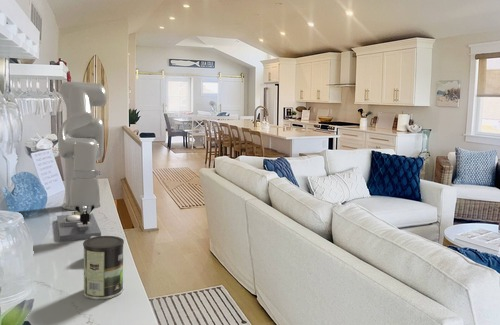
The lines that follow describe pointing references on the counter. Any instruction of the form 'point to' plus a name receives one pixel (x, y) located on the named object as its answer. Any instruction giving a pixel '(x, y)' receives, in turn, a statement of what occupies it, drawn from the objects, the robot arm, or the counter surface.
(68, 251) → the counter surface
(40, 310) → the counter surface
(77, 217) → the white button
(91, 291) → the coffee can
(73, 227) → the control panel
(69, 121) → the robot arm
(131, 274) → the counter surface
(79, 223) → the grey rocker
